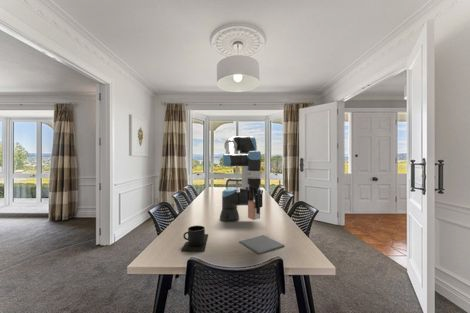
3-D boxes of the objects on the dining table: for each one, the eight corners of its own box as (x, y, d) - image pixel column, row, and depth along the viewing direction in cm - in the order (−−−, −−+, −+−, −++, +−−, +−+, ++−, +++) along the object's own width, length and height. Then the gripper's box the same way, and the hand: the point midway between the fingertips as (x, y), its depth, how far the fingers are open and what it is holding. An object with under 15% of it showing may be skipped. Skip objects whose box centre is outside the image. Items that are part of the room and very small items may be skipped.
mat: (239, 242, 131) (239, 240, 131) (263, 236, 141) (263, 234, 141) (259, 254, 116) (259, 252, 116) (284, 246, 126) (284, 244, 126)
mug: (184, 240, 133) (184, 225, 133) (205, 240, 134) (205, 225, 134) (182, 247, 124) (182, 231, 123) (204, 247, 124) (204, 230, 124)
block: (247, 217, 132) (248, 200, 132) (254, 216, 135) (254, 199, 134) (253, 220, 128) (253, 202, 127) (260, 218, 130) (260, 201, 130)
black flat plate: (175, 253, 118) (204, 252, 119) (175, 252, 118) (204, 250, 119) (184, 235, 143) (208, 234, 144) (184, 234, 143) (208, 233, 144)
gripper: (240, 176, 136) (240, 214, 137) (258, 180, 121) (258, 223, 122) (250, 175, 140) (250, 212, 141) (269, 179, 125) (269, 220, 126)
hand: (253, 217), depth 131 cm, fingers closed on block, 5 cm apart
